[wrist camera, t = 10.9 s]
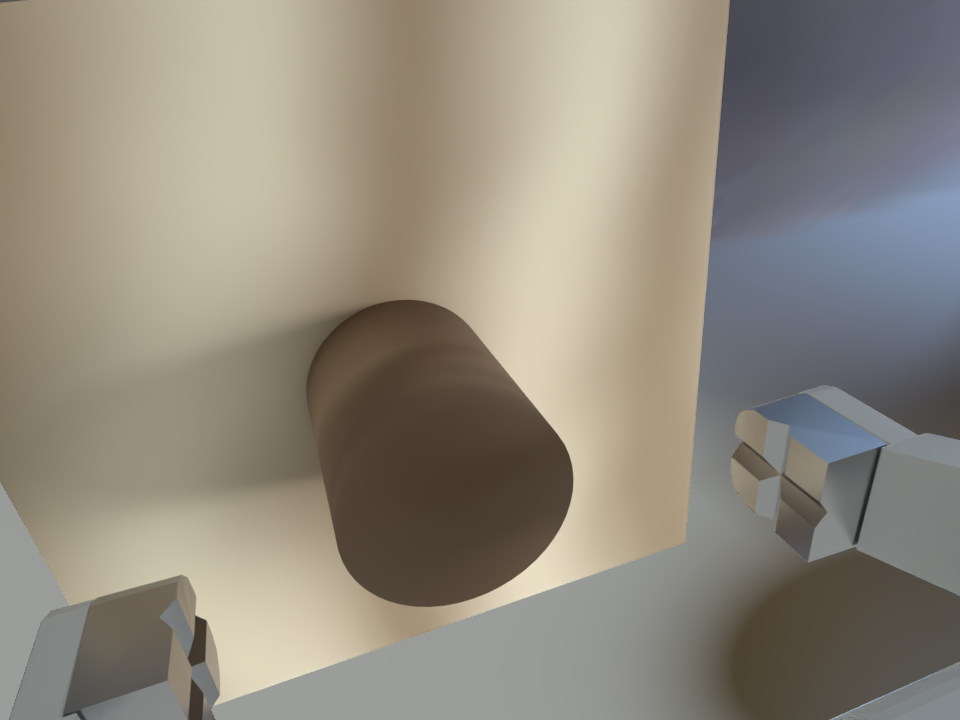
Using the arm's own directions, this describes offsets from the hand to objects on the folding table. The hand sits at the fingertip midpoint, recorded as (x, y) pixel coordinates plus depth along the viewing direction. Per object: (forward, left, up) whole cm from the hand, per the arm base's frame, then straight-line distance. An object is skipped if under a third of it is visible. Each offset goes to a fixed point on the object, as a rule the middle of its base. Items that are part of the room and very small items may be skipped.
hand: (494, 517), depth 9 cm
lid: (0, 0, -5) cm, 5 cm away
